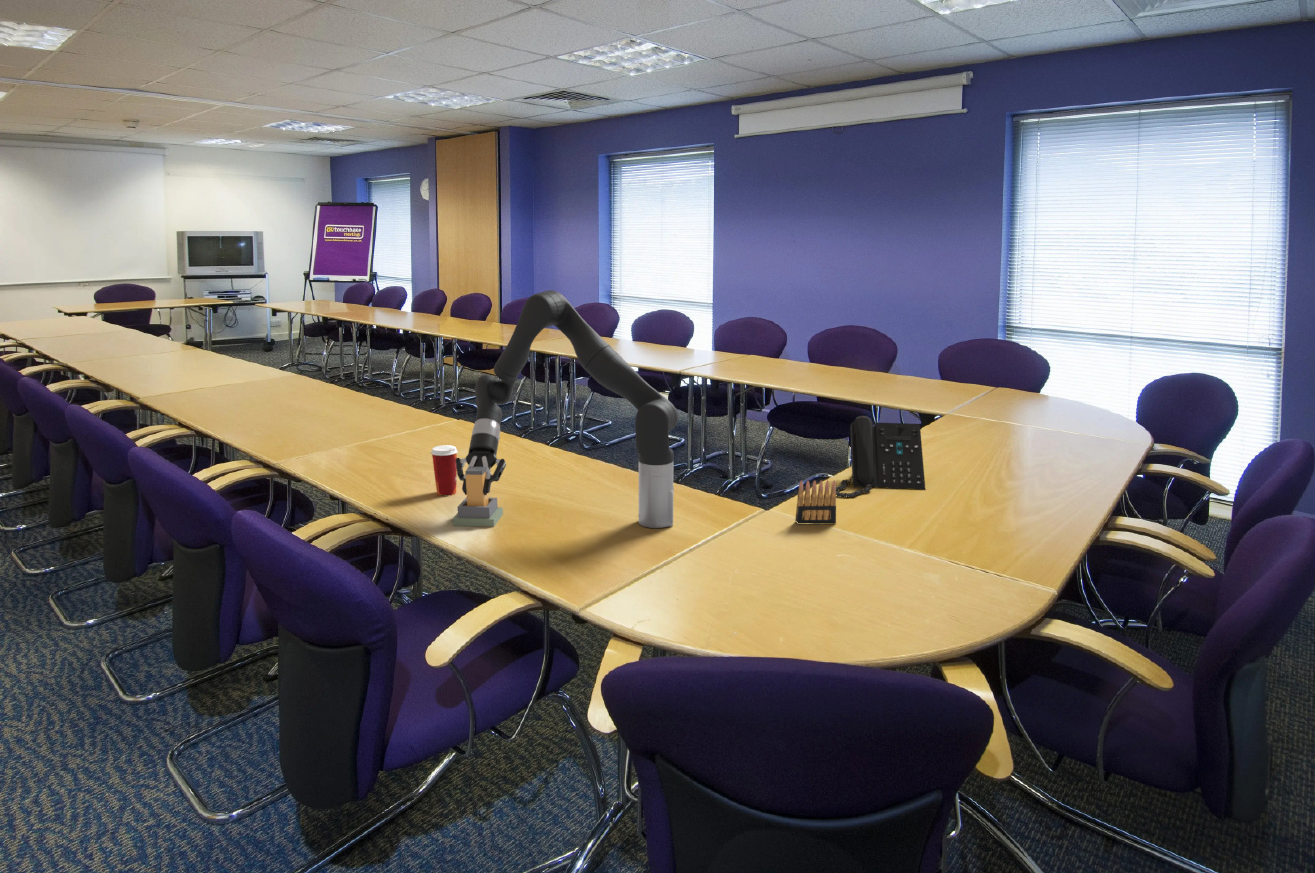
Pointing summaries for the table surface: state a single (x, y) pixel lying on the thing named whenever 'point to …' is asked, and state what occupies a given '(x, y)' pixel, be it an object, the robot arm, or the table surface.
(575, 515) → the table surface
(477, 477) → the grey-capped square pillar
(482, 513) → the grey square tray
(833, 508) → the ammunition clip
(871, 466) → the office phone
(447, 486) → the paper cup
